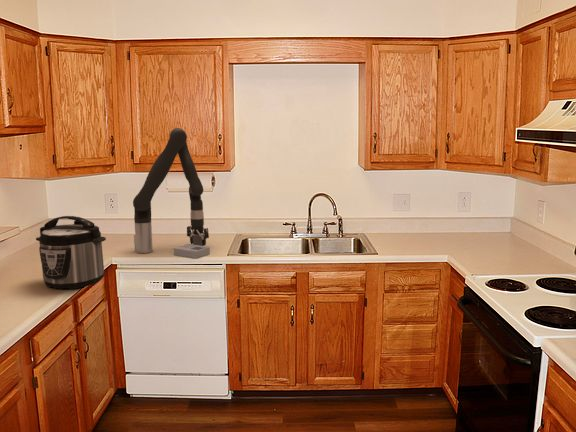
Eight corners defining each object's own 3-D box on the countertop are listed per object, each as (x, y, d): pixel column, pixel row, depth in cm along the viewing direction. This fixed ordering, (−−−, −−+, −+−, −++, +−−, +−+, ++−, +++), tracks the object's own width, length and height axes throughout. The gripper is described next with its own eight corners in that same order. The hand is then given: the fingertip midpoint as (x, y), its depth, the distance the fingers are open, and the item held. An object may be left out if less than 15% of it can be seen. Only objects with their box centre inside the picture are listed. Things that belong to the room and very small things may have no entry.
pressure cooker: (30, 282, 266) (23, 216, 260) (87, 269, 286) (82, 208, 280) (57, 296, 245) (51, 225, 239) (116, 282, 265) (112, 216, 259)
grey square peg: (193, 248, 328) (192, 235, 327) (197, 247, 332) (197, 233, 330) (198, 249, 326) (198, 235, 325) (202, 247, 330) (202, 234, 328)
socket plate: (173, 255, 314) (173, 247, 313) (187, 250, 324) (187, 243, 323) (196, 258, 306) (196, 251, 305) (209, 253, 316) (209, 246, 315)
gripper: (183, 217, 326) (184, 244, 329) (202, 219, 319) (203, 247, 322) (191, 215, 332) (192, 242, 335) (210, 217, 325) (211, 244, 328)
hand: (198, 244), depth 329 cm, fingers open, 8 cm apart
